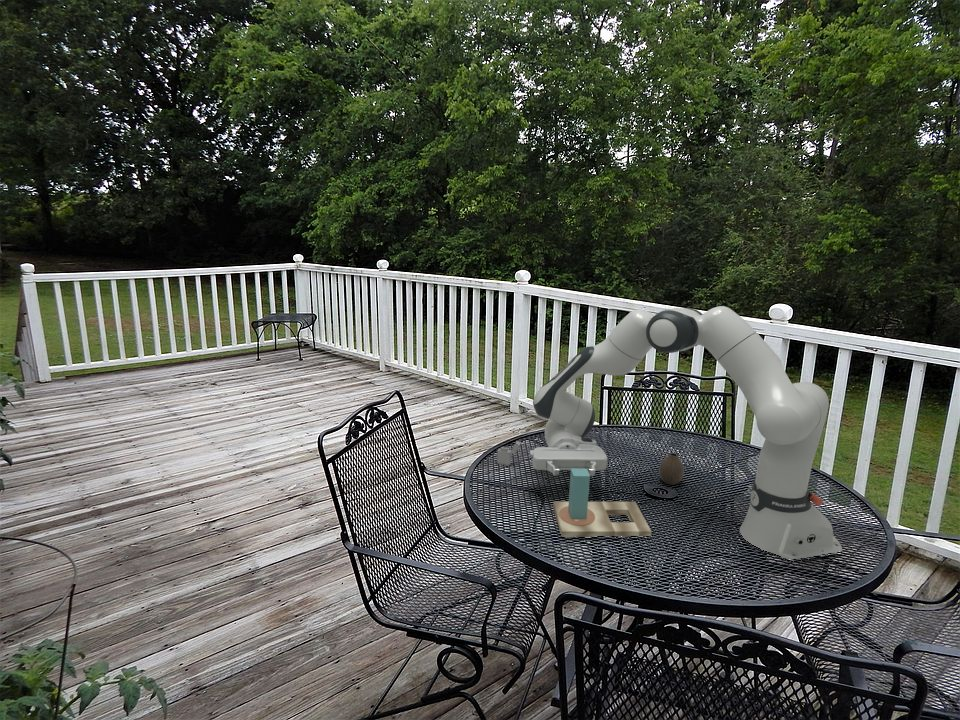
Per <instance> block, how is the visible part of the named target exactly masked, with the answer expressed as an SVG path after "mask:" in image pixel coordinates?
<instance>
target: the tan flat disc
mask: <svg viewBox="0 0 960 720" xmlns="http://www.w3.org/2000/svg"><path fill="white" fill-rule="evenodd" d="M559 516H560V518H561V519H562V520H563V521H565V522H566V523H569V524H572V525H577V526H584V525H589V524H591V523H592V522H593V521H594V520H595V515H594V513H593V512H592V511H591V510H589V509H587V519H571V518H570V515H569V512H568V506H567V507H564V508H562V509H561V510H560V512H559Z"/></svg>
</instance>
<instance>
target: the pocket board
mask: <svg viewBox="0 0 960 720" xmlns="http://www.w3.org/2000/svg"><path fill="white" fill-rule="evenodd" d="M552 505H553V506H552V509H553V512H554V516H556V517H555V520H556V524H557V523H558V524H557V526H559V528H558V530H560V531H559V534H560V533H561V535H560V537H561V536H562V537H575V536H576V537H577V536H578V537H591V536H592V537H593V536H620V537H621V536H622V537H628V536H629V537H630V536H651V537H652V529H651V528H650V526H649V524H648V522H647V521H646V519H645V518H644V516H643V514H642V512H641V510H640V508H639V506H638V504H637V503H636V501H588V507H587V509H589V510H591V511H592V512H593V513H594V515H595V520H594V521H593V522H592V523H591V524H589V525H584V526H577V525H572V524H569V523H566V522H565V521H563V520H562V519H561V518H560V516H559V512H560V510H561V509H562V508H564V507H567V506H568V505H569V501H553V504H552ZM608 515H611V516H608ZM612 515H616V516H615V517H620V516H619V515H628V517H629V519H630V520H631V522H630V521H629V522H623V521H619V522H618V521H617V522H616V521H615V522H614V521H613V522H612V521H611V519H610V518H609V517H613V516H612ZM628 517H627V518H628ZM629 519H628V520H629Z"/></svg>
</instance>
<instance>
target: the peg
mask: <svg viewBox="0 0 960 720" xmlns="http://www.w3.org/2000/svg"><path fill="white" fill-rule="evenodd" d="M590 479H591V475H589V473H588V470H587V469H571V470H570V477H569V491H568V492H569V493H568V494H569V495H568V502H569V505H568V512H569V515H570V518H571V519H587V507H588V502H589V492H590Z"/></svg>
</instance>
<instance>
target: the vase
mask: <svg viewBox="0 0 960 720" xmlns="http://www.w3.org/2000/svg"><path fill="white" fill-rule="evenodd" d="M684 467H685V466H684V463H683V462H682V461H681V459H680V457H679V455H678V453H675V452H670V453H668V455H667V456H666V457H665V458H664V459H663V460H662V461H661V462H660V465H659V469H658V473H659V478H660V479H661V480H662V482H664V483H665V484H667V485H673V486H675V485H677V484H679V483H680V482H682V480H683V477H684V474H685V468H684Z"/></svg>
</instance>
